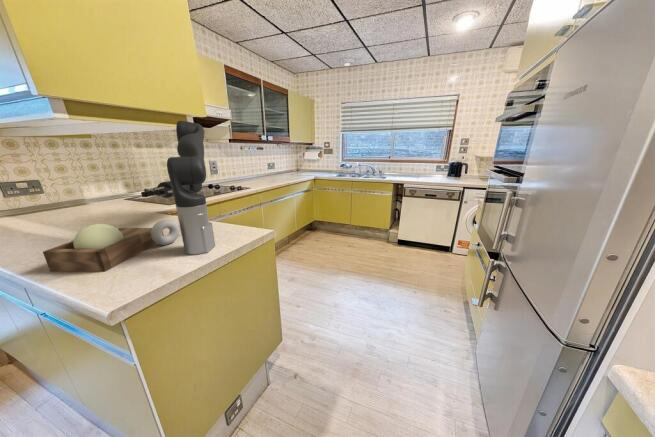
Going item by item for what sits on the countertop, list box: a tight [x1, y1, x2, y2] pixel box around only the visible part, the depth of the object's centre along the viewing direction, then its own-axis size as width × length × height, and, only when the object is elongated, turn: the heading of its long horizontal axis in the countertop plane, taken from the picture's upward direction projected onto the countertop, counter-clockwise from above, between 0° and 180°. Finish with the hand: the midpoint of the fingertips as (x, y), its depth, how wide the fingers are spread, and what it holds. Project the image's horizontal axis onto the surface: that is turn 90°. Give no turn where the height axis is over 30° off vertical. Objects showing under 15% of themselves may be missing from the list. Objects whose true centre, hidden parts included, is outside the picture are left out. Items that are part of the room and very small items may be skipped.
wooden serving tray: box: [42, 227, 165, 272], centre depth 81 cm, size 17×26×6 cm, turn 0°
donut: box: [151, 219, 181, 246], centre depth 88 cm, size 10×4×10 cm, turn 155°
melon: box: [73, 223, 124, 249], centre depth 76 cm, size 12×12×12 cm
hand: (143, 194), depth 93 cm, fingers closed
